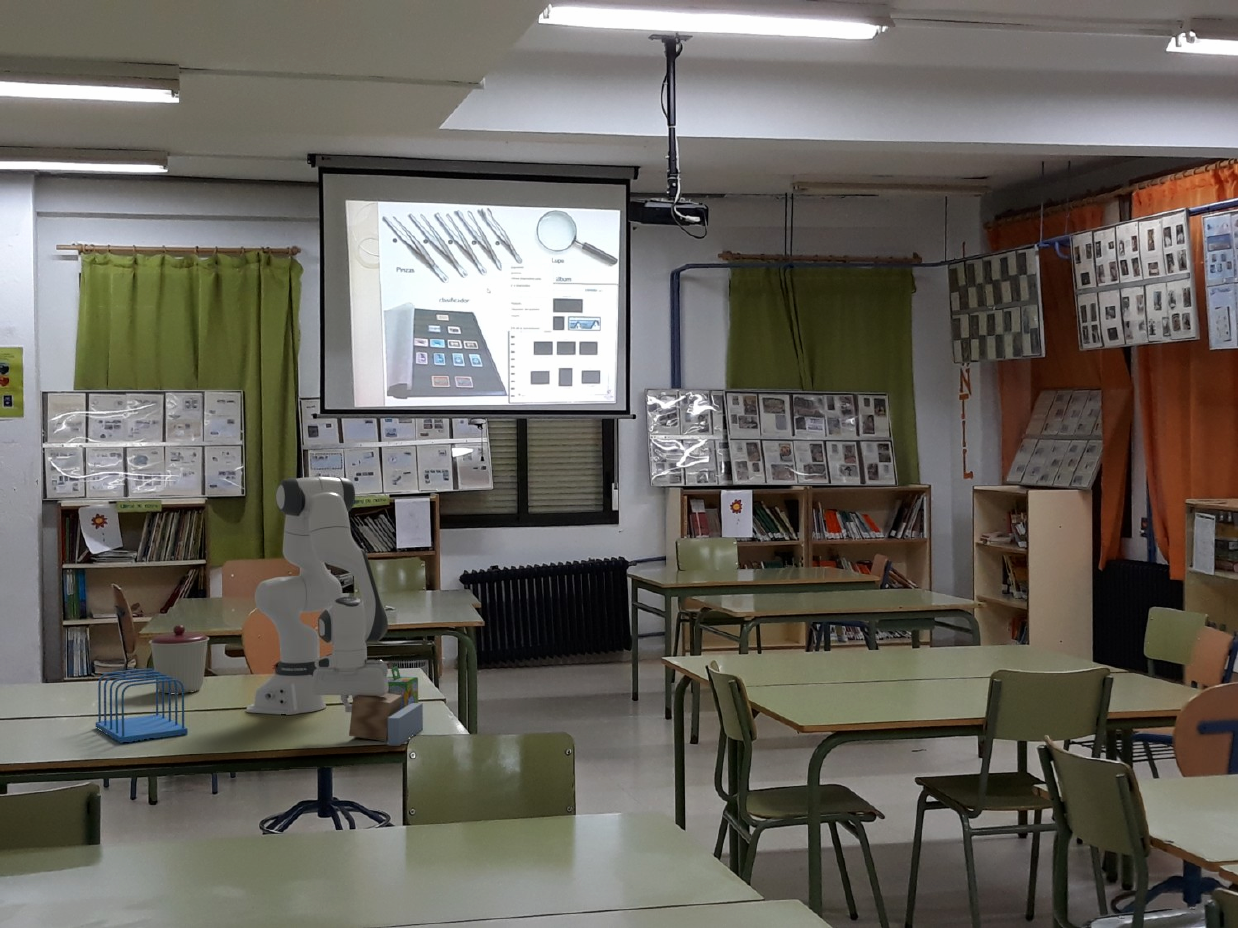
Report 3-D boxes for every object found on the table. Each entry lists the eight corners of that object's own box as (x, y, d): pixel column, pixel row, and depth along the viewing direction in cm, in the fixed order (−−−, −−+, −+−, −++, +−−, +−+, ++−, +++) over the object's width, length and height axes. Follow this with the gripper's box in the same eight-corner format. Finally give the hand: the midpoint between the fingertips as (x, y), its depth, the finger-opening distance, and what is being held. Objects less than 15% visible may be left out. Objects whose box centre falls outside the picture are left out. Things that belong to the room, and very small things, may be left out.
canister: (167, 685, 404) (166, 621, 404) (220, 686, 402) (219, 621, 401) (138, 696, 386) (137, 629, 386) (193, 697, 384) (192, 629, 383)
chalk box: (408, 724, 341) (407, 670, 341) (376, 723, 343) (375, 669, 343) (420, 717, 350) (419, 664, 350) (389, 716, 352) (388, 663, 352)
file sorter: (188, 735, 332) (187, 677, 332) (120, 745, 322) (119, 686, 322) (159, 719, 352) (158, 665, 352) (95, 728, 342) (94, 673, 342)
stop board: (388, 745, 317) (387, 717, 316) (412, 728, 335) (411, 702, 335) (399, 745, 316) (398, 718, 316) (422, 728, 335) (422, 703, 335)
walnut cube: (348, 735, 323) (353, 697, 322) (361, 726, 332) (366, 690, 332) (385, 741, 321) (390, 702, 321) (397, 732, 331) (402, 695, 331)
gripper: (391, 657, 329) (392, 710, 329) (318, 657, 332) (319, 708, 332) (383, 661, 323) (384, 715, 323) (308, 661, 326) (309, 713, 326)
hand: (350, 711), depth 327 cm, fingers closed
